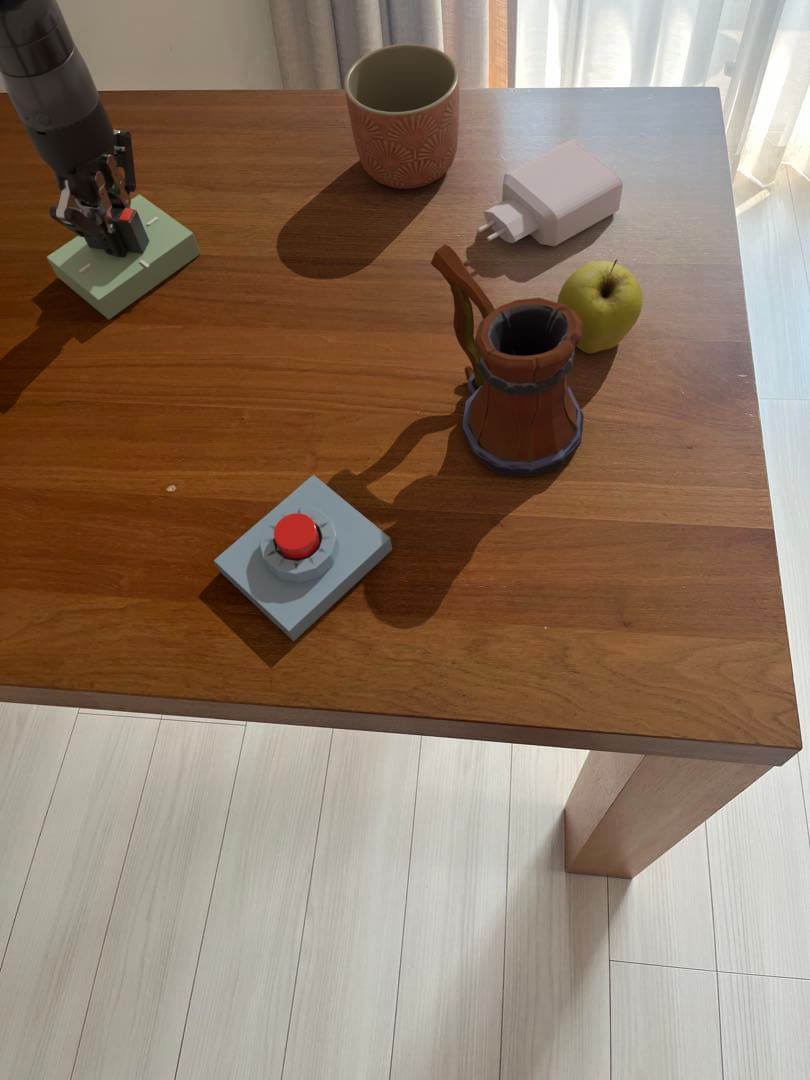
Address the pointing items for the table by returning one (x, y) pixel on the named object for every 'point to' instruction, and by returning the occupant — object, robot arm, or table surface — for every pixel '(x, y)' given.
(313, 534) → the button
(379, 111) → the planter
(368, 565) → the button box
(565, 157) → the charger
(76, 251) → the panel
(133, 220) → the dark gray bar
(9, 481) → the table surface
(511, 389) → the mug
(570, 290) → the apple
